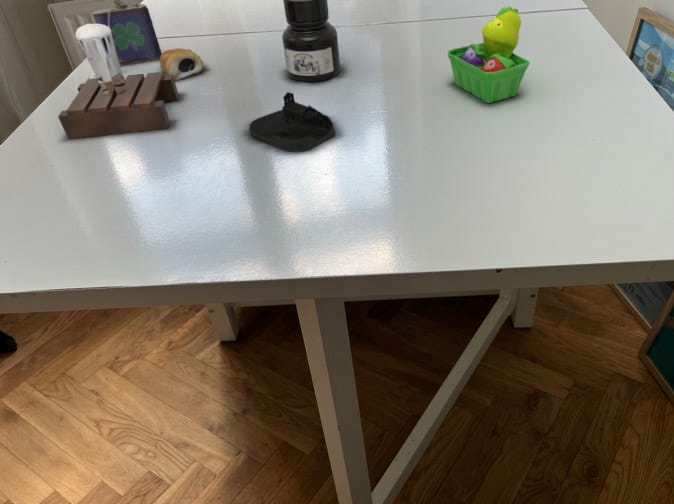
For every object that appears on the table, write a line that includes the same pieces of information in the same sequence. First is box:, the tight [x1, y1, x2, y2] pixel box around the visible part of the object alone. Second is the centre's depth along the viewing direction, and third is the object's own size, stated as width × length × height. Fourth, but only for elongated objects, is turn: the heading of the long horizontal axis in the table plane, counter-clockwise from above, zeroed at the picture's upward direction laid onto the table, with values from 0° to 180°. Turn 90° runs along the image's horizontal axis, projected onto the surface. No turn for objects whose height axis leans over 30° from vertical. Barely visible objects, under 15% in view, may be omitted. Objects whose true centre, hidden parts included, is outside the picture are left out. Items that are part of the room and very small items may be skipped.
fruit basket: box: [446, 5, 531, 104], centre depth 81 cm, size 11×9×11 cm
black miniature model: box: [248, 91, 336, 153], centre depth 76 cm, size 12×10×5 cm
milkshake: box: [75, 12, 126, 95], centre depth 78 cm, size 5×5×10 cm
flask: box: [92, 0, 163, 66], centre depth 99 cm, size 9×3×11 cm, turn 109°
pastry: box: [159, 47, 205, 81], centre depth 96 cm, size 9×7×4 cm
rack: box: [57, 71, 180, 140], centre depth 82 cm, size 14×12×4 cm
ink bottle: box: [281, 0, 341, 82], centre depth 89 cm, size 10×9×12 cm
